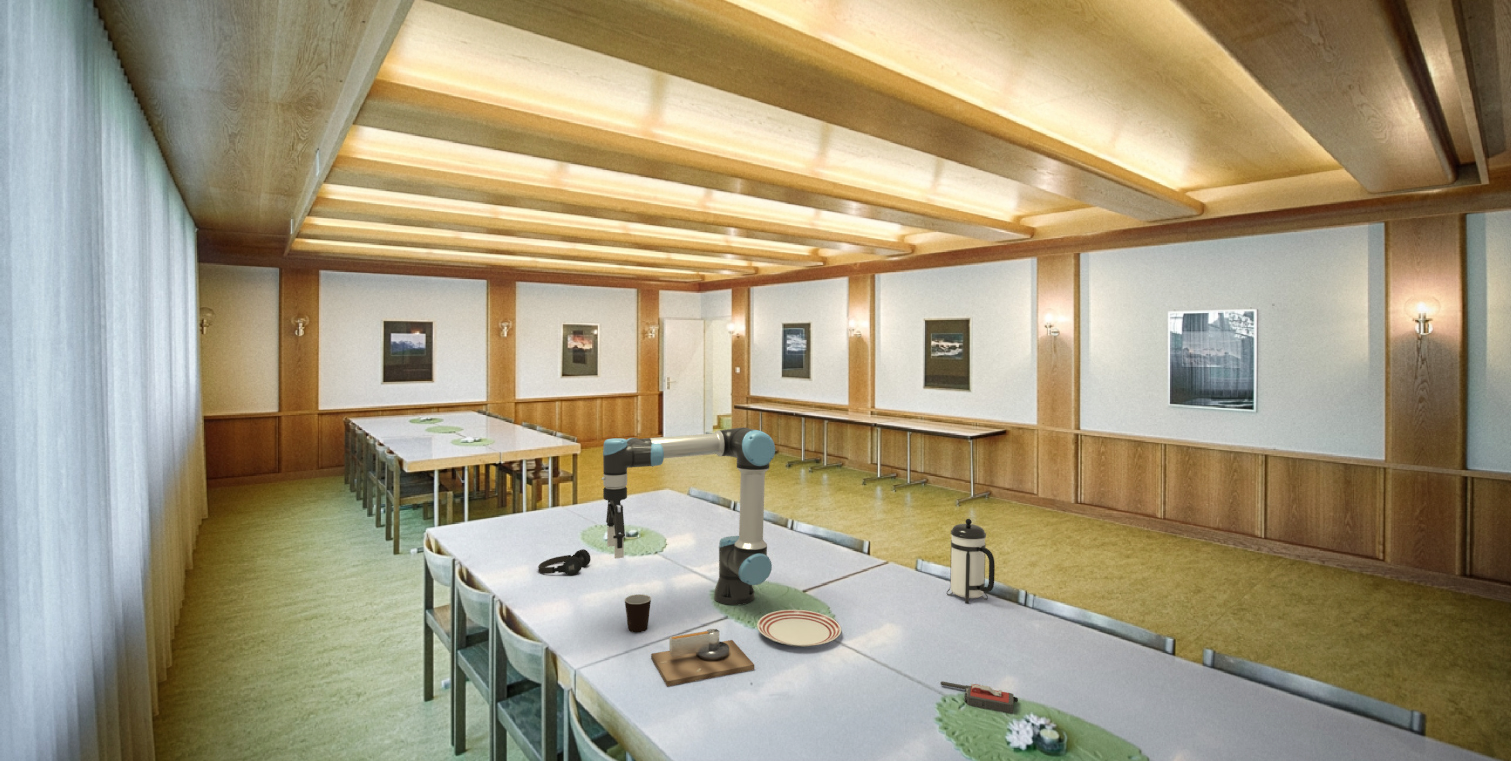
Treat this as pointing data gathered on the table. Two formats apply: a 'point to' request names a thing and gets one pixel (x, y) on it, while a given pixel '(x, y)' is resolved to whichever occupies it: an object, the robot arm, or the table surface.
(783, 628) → the dinner plate
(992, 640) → the table surface
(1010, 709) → the walkie-talkie
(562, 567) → the headphones
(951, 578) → the coffee press
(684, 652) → the lever handle
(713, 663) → the board
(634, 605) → the coffee mug
